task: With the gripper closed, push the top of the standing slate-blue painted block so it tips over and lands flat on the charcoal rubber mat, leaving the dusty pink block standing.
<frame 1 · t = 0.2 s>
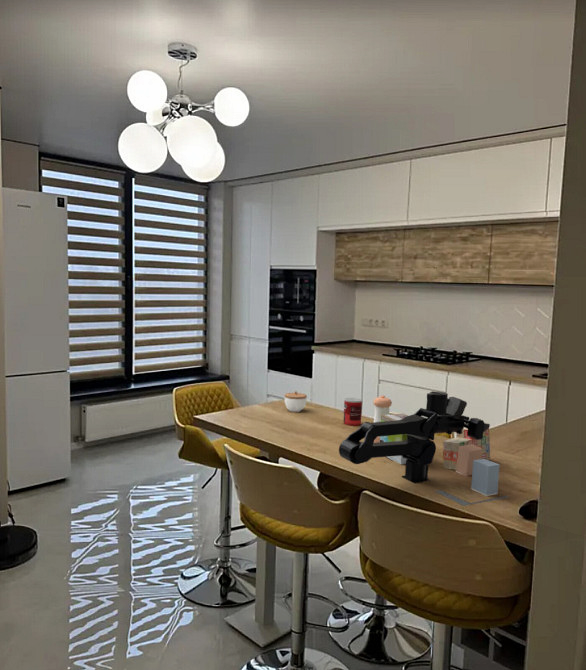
hand: (478, 422, 188), 17 cm above the counter, tool horizontal, fingers open, 9 cm apart
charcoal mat: (471, 495, 166), on the counter
canned food: (352, 424, 250), on the counter
salt shaker: (380, 444, 218), on the counter
dusty pink block: (467, 473, 186), on the counter, tilted 7°, touching stack of blocks
tea box: (401, 459, 200), on the counter
lidded jar: (295, 410, 273), on the counter
slate blue block: (484, 491, 168), resting on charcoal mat
stack of blocks: (467, 464, 196), on the counter, touching dusty pink block
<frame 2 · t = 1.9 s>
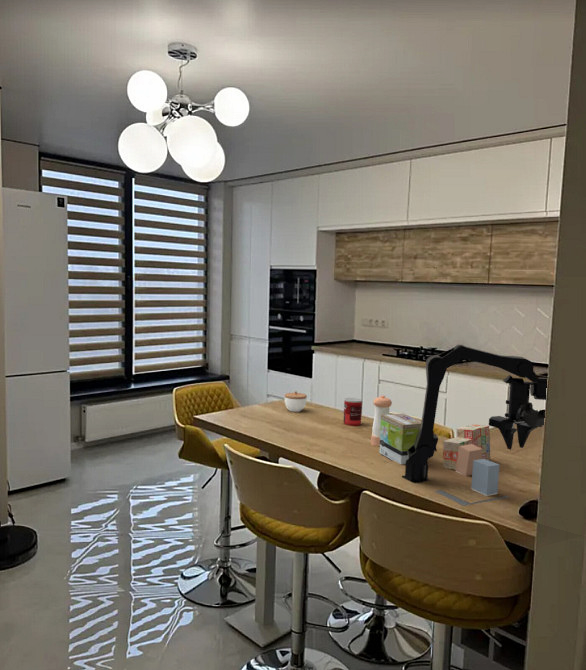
hand: (515, 448, 173), 13 cm above the counter, tool pointing down, fingers open, 5 cm apart
nothing on the counter moved.
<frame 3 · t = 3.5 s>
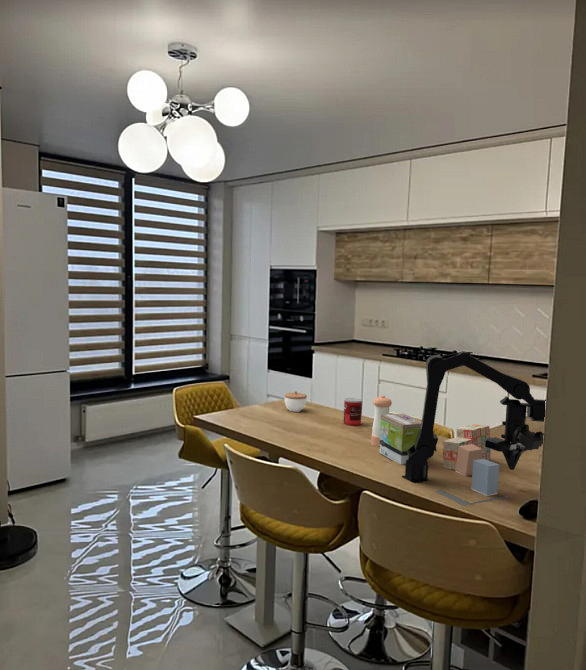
hand: (511, 469, 173), 6 cm above the counter, tool pointing down, fingers closed
nothing on the counter moved.
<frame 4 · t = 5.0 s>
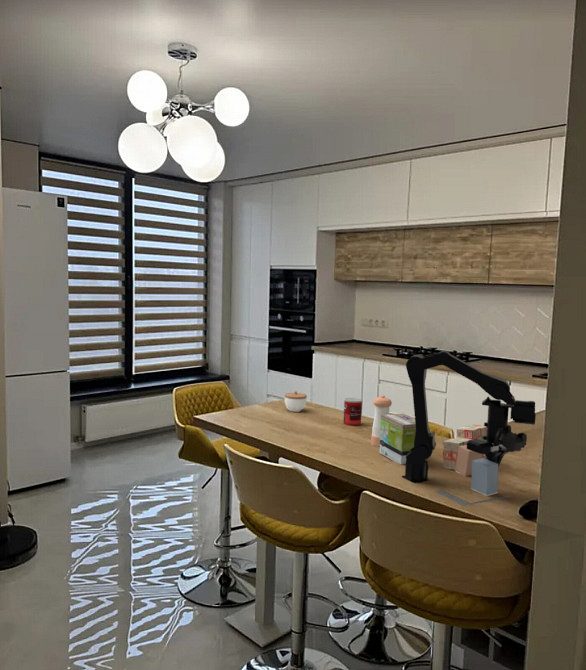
hand: (494, 471, 170), 6 cm above the counter, tool pointing down, fingers closed
slate blue block: (484, 491, 168), point 1 cm above the counter, touching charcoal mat, gripper
everything else where it was.
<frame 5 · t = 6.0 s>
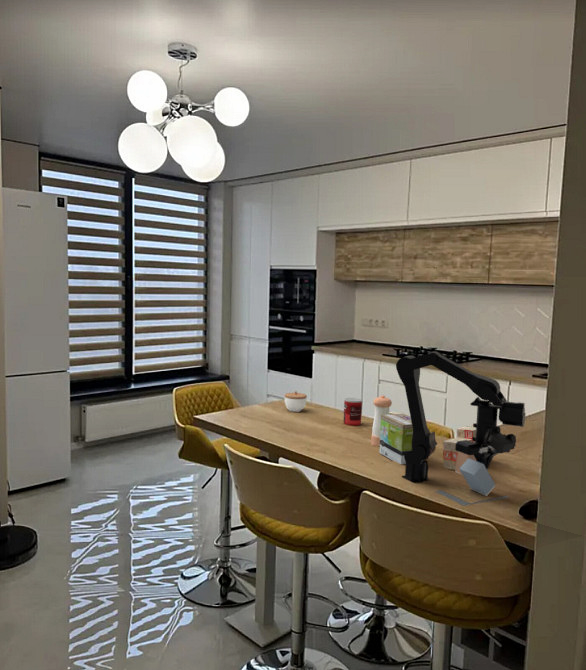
hand: (483, 473, 168), 6 cm above the counter, tool pointing down, fingers closed
slate blue block: (483, 487, 168), point 2 cm above the counter, tilted 38°, touching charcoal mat, gripper
everything else where it was.
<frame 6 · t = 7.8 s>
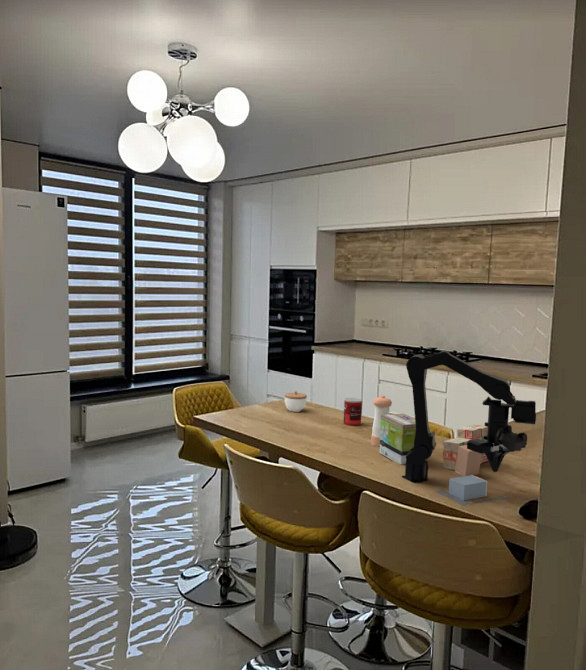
hand: (494, 471, 169), 6 cm above the counter, tool pointing down, fingers closed
slate blue block: (479, 485, 167), point 3 cm above the counter, tilted 90°, touching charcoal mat
everything else where it was.
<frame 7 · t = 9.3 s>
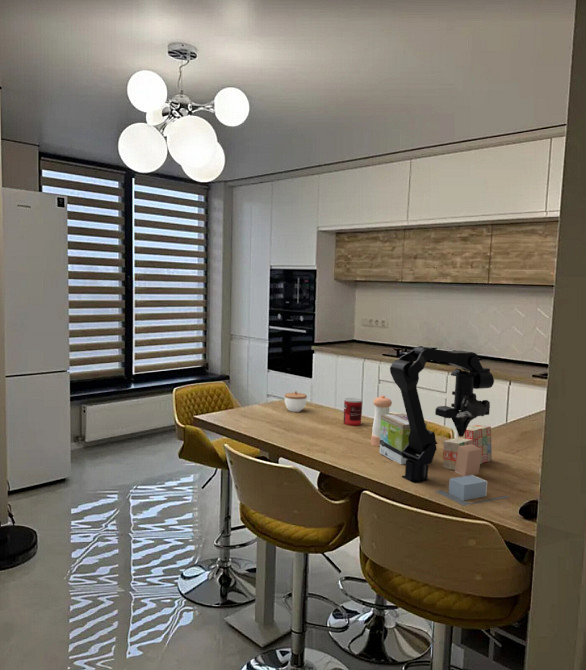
hand: (461, 436, 185), 12 cm above the counter, tool pointing down, fingers closed
nothing on the counter moved.
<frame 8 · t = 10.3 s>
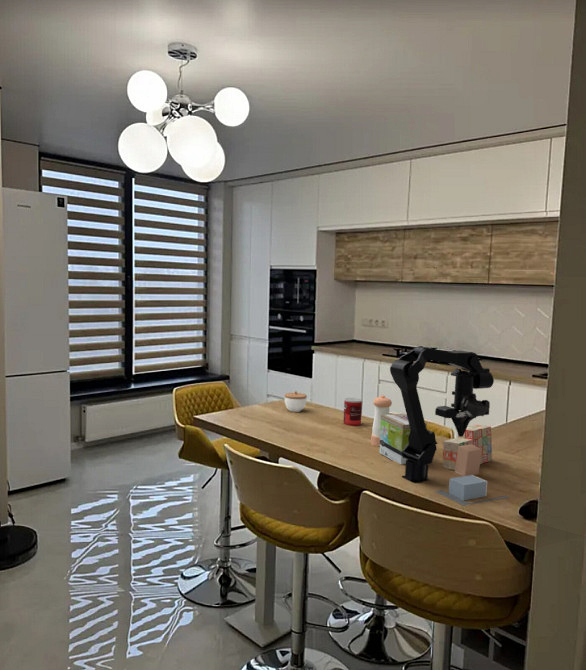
hand: (460, 436, 185), 12 cm above the counter, tool pointing down, fingers closed
nothing on the counter moved.
at the end: slate blue block tilted 90°; slate blue block inside the target area (2.2 cm from its centre), point 2.6 cm above the counter; dusty pink block tilted 6° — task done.
